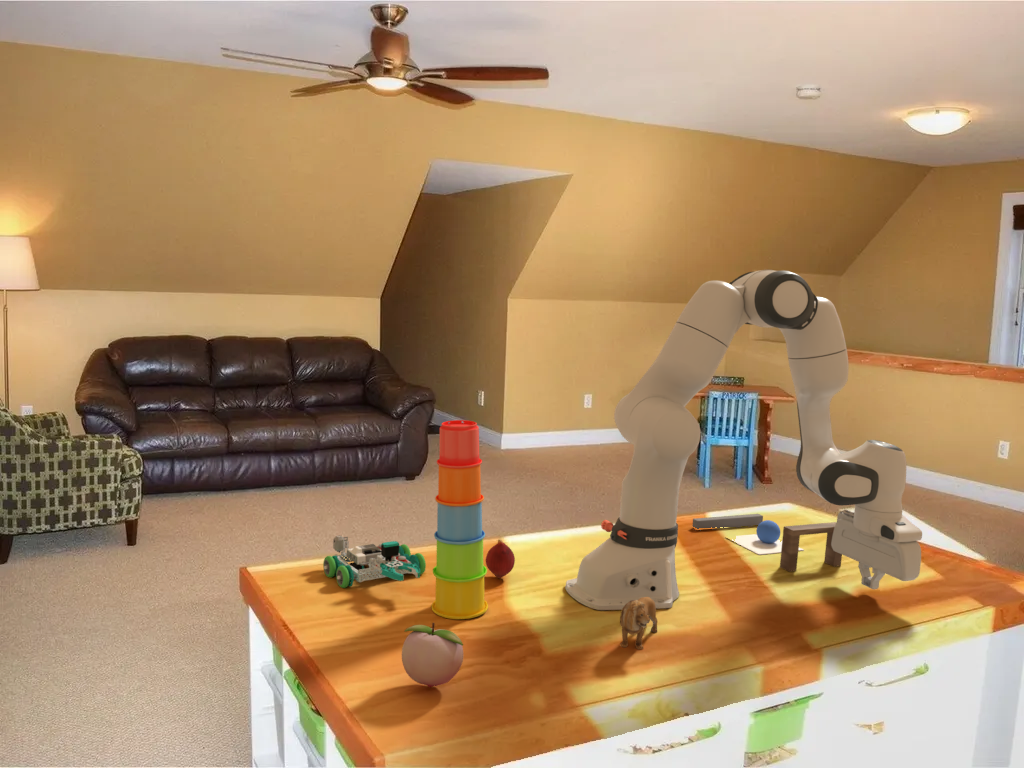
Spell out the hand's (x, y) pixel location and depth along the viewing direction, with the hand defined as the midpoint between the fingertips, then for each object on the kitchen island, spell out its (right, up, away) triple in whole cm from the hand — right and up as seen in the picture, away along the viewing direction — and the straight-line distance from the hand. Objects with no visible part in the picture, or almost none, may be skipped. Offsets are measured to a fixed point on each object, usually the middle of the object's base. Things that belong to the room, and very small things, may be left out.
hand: (869, 586), depth 176 cm
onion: (-75, +2, -1) cm, 75 cm away
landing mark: (-13, +3, +30) cm, 33 cm away
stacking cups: (-82, 0, -18) cm, 84 cm away
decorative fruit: (-85, -4, -48) cm, 98 cm away
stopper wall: (-18, +5, +43) cm, 47 cm away
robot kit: (-98, +2, -6) cm, 98 cm away
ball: (-11, +6, +31) cm, 33 cm away
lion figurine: (-51, -3, -28) cm, 58 cm away
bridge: (-7, +1, +16) cm, 17 cm away
